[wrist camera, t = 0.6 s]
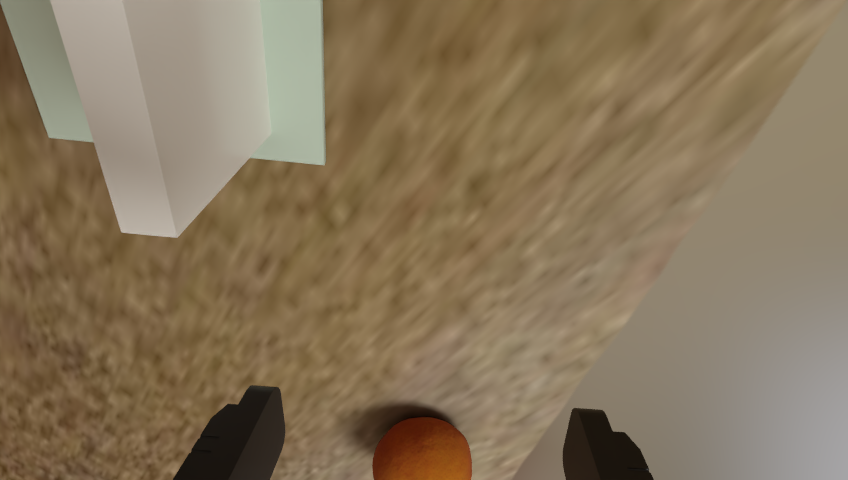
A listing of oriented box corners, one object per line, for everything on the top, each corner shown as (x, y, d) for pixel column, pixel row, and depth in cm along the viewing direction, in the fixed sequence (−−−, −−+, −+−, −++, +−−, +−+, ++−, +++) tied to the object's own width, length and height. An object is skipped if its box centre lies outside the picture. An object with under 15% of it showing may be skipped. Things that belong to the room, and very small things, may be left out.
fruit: (409, 388, 48) (405, 459, 41) (488, 423, 51) (496, 495, 44) (360, 438, 53) (349, 509, 46) (434, 468, 56) (434, 539, 49)
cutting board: (321, -60, 27) (319, -60, 26) (325, 161, 34) (324, 165, 34) (-28, -101, 26) (-38, -101, 25) (54, 134, 33) (49, 137, 33)
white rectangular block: (257, -28, 27) (119, -12, 15) (271, 133, 32) (177, 237, 21) (213, -33, 27) (40, -21, 15) (234, 130, 32) (119, 232, 21)
